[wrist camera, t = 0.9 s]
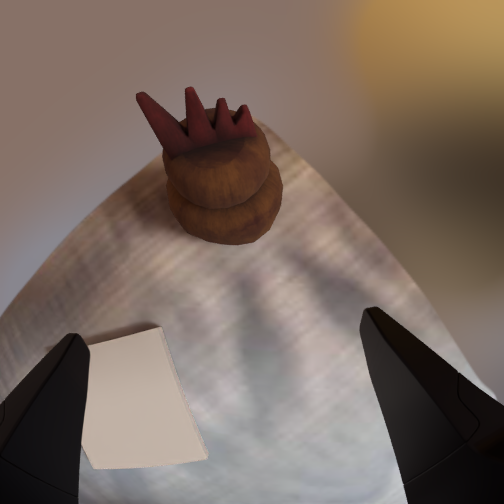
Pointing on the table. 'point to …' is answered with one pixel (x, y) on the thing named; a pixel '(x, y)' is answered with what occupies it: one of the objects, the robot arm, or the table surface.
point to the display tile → (137, 406)
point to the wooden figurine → (216, 170)
